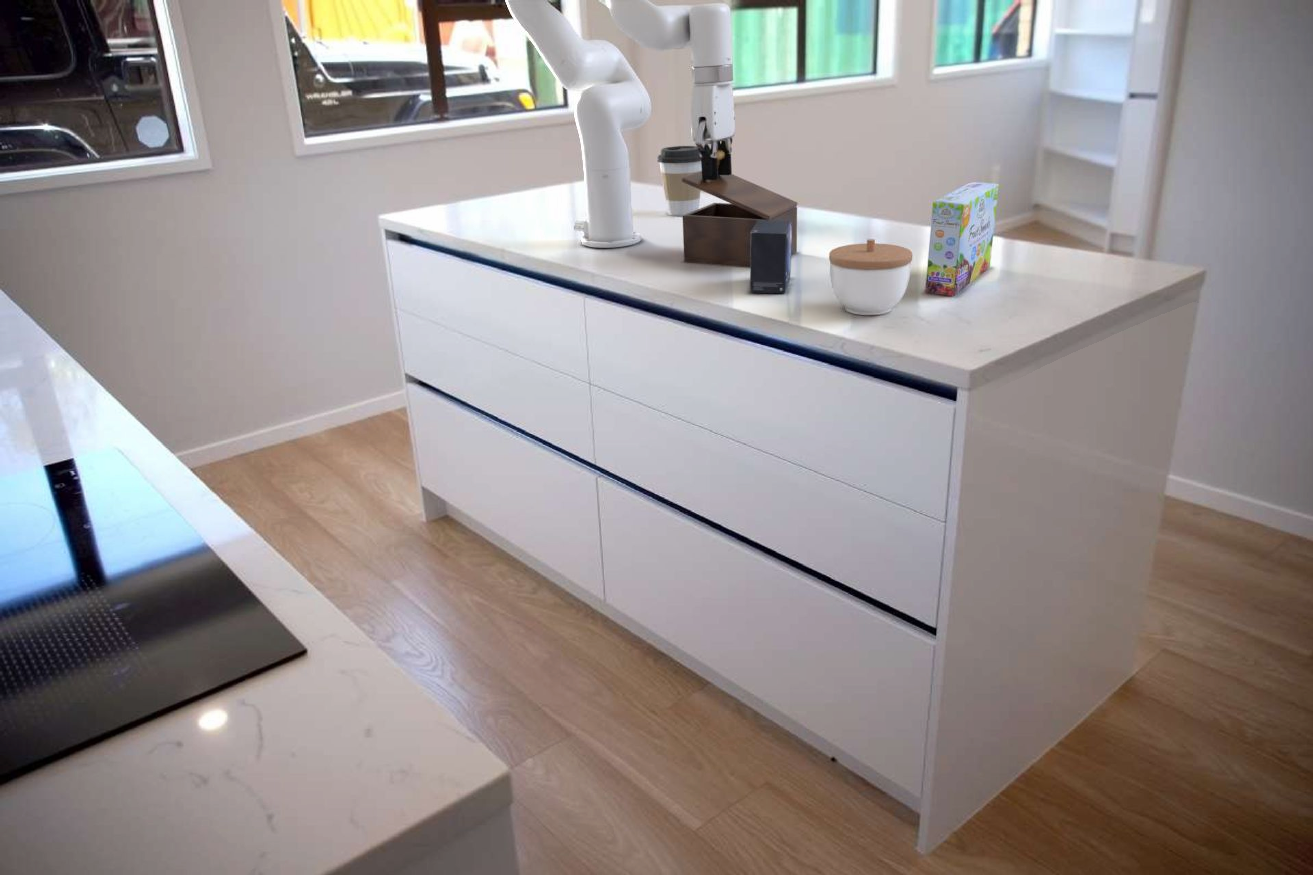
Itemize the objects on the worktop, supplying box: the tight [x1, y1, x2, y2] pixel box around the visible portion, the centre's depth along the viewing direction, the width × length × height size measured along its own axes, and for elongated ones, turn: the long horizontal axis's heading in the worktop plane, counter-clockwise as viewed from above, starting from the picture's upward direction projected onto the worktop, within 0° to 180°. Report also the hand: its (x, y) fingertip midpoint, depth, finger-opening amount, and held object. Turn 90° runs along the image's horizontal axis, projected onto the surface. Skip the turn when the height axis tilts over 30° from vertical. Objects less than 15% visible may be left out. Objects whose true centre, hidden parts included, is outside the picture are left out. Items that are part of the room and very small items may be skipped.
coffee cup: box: [656, 145, 702, 217], centre depth 235 cm, size 11×11×15 cm
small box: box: [749, 220, 792, 294], centre depth 171 cm, size 11×6×10 cm, turn 168°
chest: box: [682, 202, 798, 268], centre depth 192 cm, size 18×14×9 cm
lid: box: [682, 150, 799, 220], centre depth 188 cm, size 19×14×6 cm
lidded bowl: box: [828, 238, 913, 316], centre depth 156 cm, size 13×13×11 cm
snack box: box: [924, 181, 1000, 297], centre depth 168 cm, size 21×6×15 cm, turn 148°
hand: (717, 176), depth 190 cm, fingers closed on lid, 5 cm apart
